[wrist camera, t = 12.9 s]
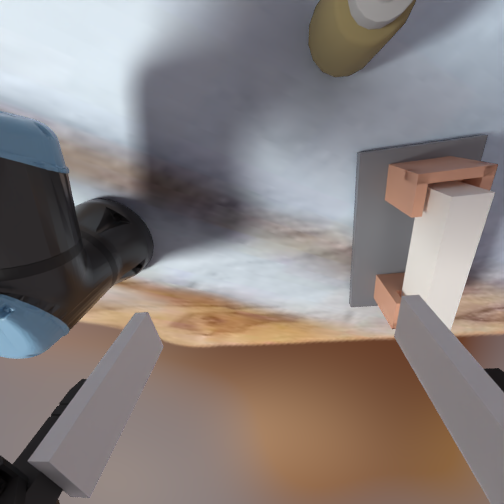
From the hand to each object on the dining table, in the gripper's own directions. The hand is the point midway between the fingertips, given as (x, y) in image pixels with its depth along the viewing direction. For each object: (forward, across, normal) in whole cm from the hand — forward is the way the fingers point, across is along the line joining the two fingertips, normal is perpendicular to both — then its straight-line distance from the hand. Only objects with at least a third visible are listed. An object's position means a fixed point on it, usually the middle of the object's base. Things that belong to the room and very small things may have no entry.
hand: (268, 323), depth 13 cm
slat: (+23, +21, -10) cm, 33 cm away
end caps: (+29, +21, -10) cm, 37 cm away
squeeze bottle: (+29, +10, +17) cm, 35 cm away
